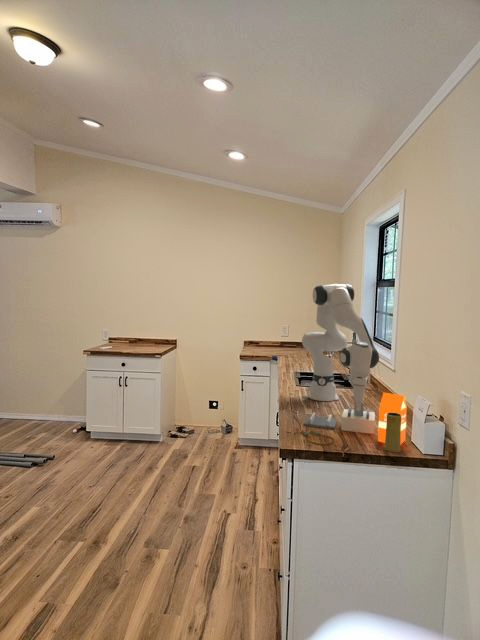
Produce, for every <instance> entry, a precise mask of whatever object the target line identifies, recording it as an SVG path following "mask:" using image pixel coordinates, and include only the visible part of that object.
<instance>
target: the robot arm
mask: <svg viewBox="0 0 480 640" xmlns="http://www.w3.org/2000/svg"><path fill="white" fill-rule="evenodd" d="M354 299H355V289H354V287H353V286H352V285H351V284H348V283H345V284H343V283H341V284H340V283H332V284H325V285H321V284H320V285H317V286H315V287H314V288H313V290H312V300H313V303H314V304H315V305H317V307H316V308H317V309H316V320H315V321H316V324H317V325H318V326H319V327H320V328H322V329H324V330H325V331H310V332H305V333H304V334H303V336H302V339H301V345H302V346H303V348H304V349H305V350H307V352H309V354H310V356H311V357H312V360H313V374H312V381H311V382H310V383H309V393H308V394H306V398H309V399H311V400H315V401H320V402H331V401H332V402H333V401H340V397H339V396H338V393H337V389H336V388H337V385H336V383H335V381H334V379H335V376H334V361H333V359H331V358H329V357H328V356H326V355H325V354H324V352H339V351H340V352H339V363H340V364H341V365H342V366H343V367H345V368H350V371H349V373H350V374H349V381H350V382H351V384H352V388H353V389H352V391H353V392H352V393H353V400H354V402H356V410H357V411H360V410H361V403H362V402H363V401H364V397H365V391H366V387H368V384H369V383H371V369H373V368H374V367H376V366H377V365H378V363H379V361H380V355H379V352H378V349H377V348H376V347H375V345H374V343H373V340H372V338H371V336H370V333H369V331H368V328H367V325H366V324H365V321H364V319H363V318H362V317H360V316H359V315H358V314H357V312H356V311H355V308H354V305H353V301H354ZM339 326H340V327H343V328H346V329H348V330H351V331H352V332H354V333H355V334H356V335H357V337H358V341H354V342H352V345H349V346H348V338H347V336H346V334H344V332H342V331H341V330H340V329H339Z"/></svg>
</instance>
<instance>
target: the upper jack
mask: <svg viewBox="0 0 480 640" xmlns="http://www.w3.org/2000/svg"><path fill="white" fill-rule="evenodd" d="M375 413H376V412H375V411H370V407H366V410H363V416H357V415H354V409H352V405H349V406H348V408H344V409H343V412H342V415H341V424H340V425H341V427H340V428H341V431H347V432H354V433H362V434H370V435H375V424H376V422H375V421H376V420H375V419H376V417H375V416H376V414H375Z"/></svg>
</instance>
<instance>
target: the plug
mask: <svg viewBox="0 0 480 640" xmlns="http://www.w3.org/2000/svg"><path fill="white" fill-rule="evenodd" d="M364 403H365V401H364V400H363V402H362V403H361V410H360V411H357V410H356V402H355V401H354V403H353V404H354V406H353V410H354V415H357V416H363V411H365V410H364V407H365V406H364V405H365V404H364Z"/></svg>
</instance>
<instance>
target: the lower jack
mask: <svg viewBox="0 0 480 640" xmlns="http://www.w3.org/2000/svg"><path fill="white" fill-rule="evenodd" d="M337 423H338V417H337V418H336V417H333V415H332V414H329V415H328V417H327V416H318V415H317V416H316V412H314V411H313V412H312V414H311V415H307V416H306V419H305V421H304V422H303V426H305V427H311V428H314V427H315V428H322V429H330V430H335V429H336V427H337Z"/></svg>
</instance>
